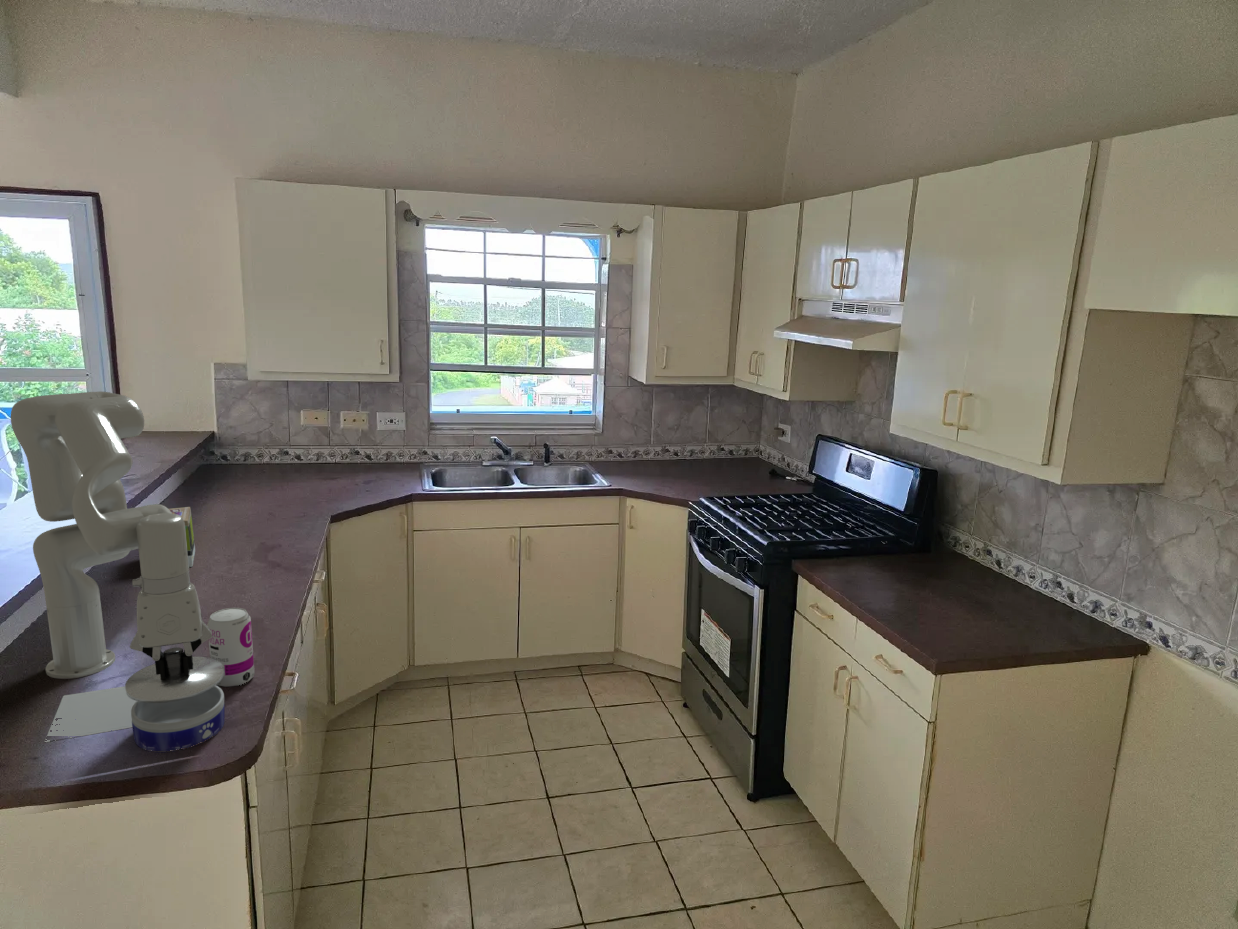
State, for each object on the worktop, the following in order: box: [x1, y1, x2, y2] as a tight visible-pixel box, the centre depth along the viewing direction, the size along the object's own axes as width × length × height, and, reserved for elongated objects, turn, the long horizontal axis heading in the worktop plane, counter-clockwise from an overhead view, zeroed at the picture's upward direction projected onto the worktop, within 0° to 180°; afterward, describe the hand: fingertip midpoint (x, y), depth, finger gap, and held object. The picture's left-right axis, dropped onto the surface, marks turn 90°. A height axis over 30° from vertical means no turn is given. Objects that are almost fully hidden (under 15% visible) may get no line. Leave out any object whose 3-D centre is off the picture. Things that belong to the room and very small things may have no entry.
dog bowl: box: [131, 685, 226, 751], centre depth 149 cm, size 15×15×6 cm
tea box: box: [168, 506, 196, 568], centre depth 235 cm, size 15×10×15 cm
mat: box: [44, 685, 136, 743], centre depth 156 cm, size 18×18×1 cm
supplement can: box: [206, 607, 255, 687], centre depth 168 cm, size 8×8×15 cm
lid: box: [124, 647, 224, 703], centre depth 147 cm, size 16×16×6 cm
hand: (175, 674), depth 147 cm, fingers closed on lid, 3 cm apart
